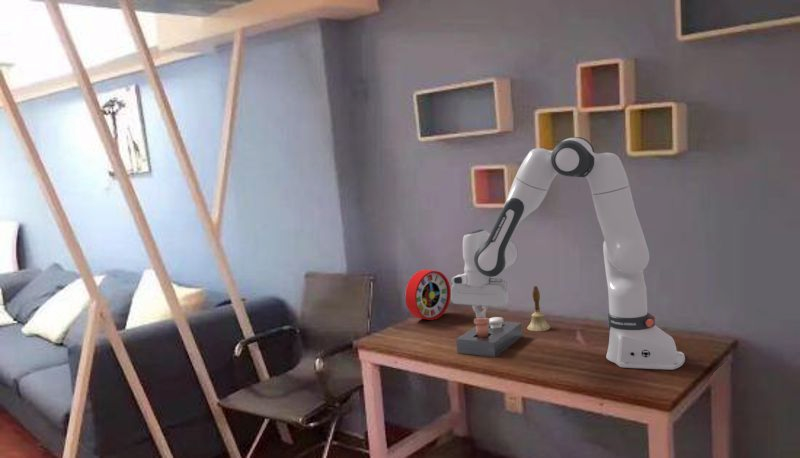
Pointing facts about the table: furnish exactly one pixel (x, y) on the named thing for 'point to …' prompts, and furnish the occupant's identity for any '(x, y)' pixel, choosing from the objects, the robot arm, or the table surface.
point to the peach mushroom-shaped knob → (482, 327)
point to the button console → (489, 340)
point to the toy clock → (428, 294)
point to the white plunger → (496, 322)
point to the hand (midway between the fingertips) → (480, 317)
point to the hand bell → (537, 315)
